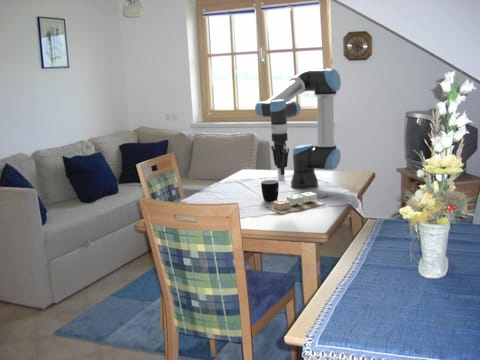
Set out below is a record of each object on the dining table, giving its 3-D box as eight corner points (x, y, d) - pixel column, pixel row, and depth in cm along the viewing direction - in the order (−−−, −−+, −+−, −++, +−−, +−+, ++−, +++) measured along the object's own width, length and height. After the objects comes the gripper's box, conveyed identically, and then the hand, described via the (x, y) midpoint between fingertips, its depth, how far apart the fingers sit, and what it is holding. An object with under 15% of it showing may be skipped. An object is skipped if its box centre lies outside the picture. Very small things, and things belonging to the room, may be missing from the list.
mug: (279, 202, 287) (278, 183, 285) (262, 203, 287) (261, 184, 285) (278, 196, 299) (277, 178, 296) (261, 197, 299) (260, 178, 297)
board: (308, 199, 290) (308, 198, 290) (324, 204, 278) (324, 203, 278) (266, 207, 279) (266, 206, 279) (281, 214, 267) (281, 213, 267)
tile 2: (297, 200, 282) (296, 193, 281) (303, 202, 277) (303, 196, 276) (286, 202, 279) (286, 196, 279) (293, 204, 274) (293, 198, 273)
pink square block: (283, 205, 279) (283, 199, 278) (290, 207, 274) (290, 201, 273) (273, 207, 276) (273, 201, 275) (279, 210, 271) (279, 203, 270)
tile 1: (310, 197, 286) (309, 191, 285) (317, 199, 280) (316, 193, 280) (300, 199, 283) (300, 193, 282) (307, 201, 278) (306, 195, 277)
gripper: (265, 132, 271) (268, 179, 276) (279, 135, 259) (282, 184, 265) (278, 130, 274) (280, 177, 279) (293, 133, 263) (295, 182, 268)
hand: (281, 180), depth 272 cm, fingers closed
